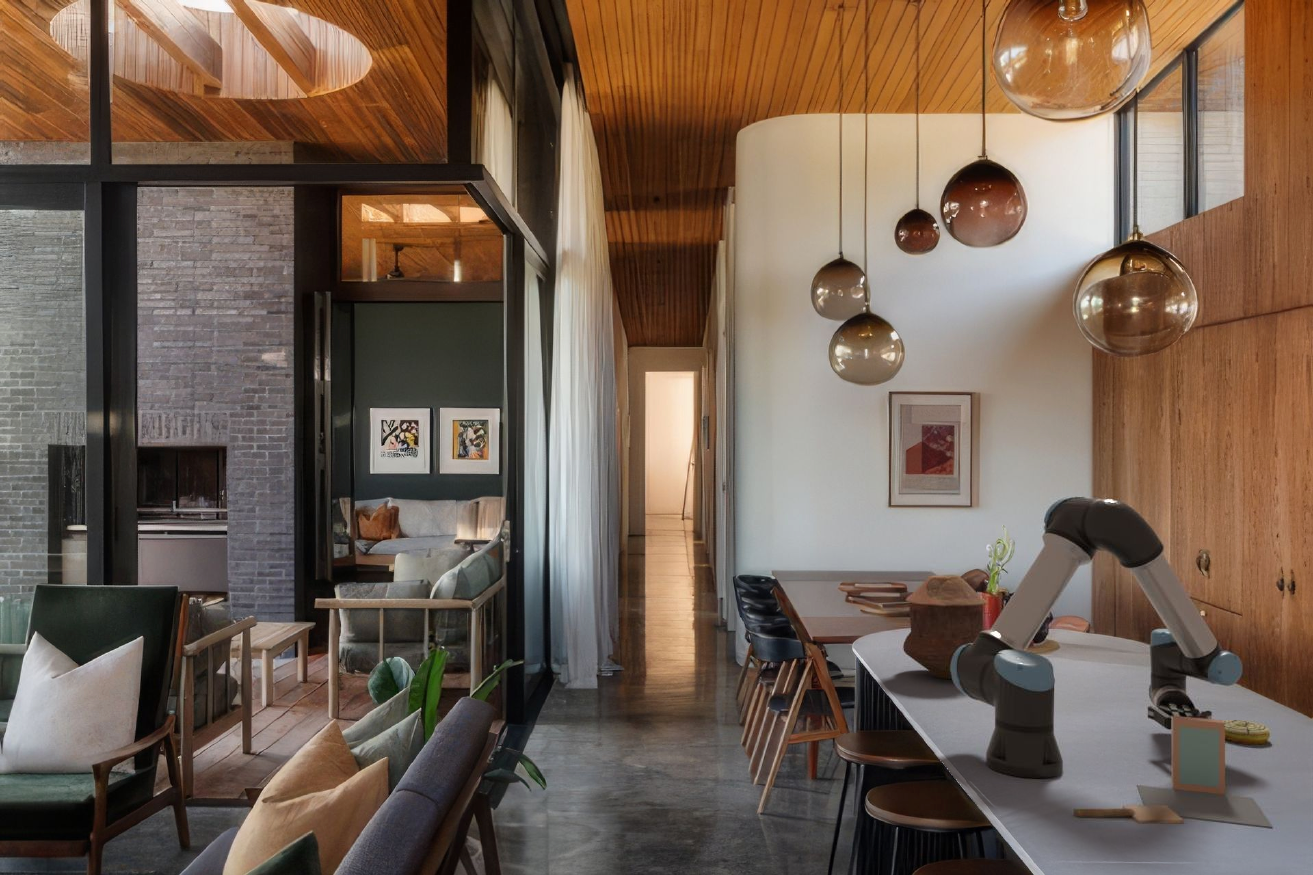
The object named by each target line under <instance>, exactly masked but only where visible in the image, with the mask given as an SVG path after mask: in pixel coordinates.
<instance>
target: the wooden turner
mask: <svg viewBox="0 0 1313 875" xmlns="http://www.w3.org/2000/svg"><path fill="white" fill-rule="evenodd" d="M1073 815H1074V816H1075V817H1076V818H1121V817H1122V818H1123V817H1124V818H1129V817H1130V818H1132V819H1133V820H1134V821H1135V822H1137V823H1139V824H1140V823H1141V824H1142V823H1143V824H1184V818H1182V817H1179V816H1178V815H1177V814H1176V813H1175V812H1173V811H1172V810H1171V809H1170V808H1169V807H1167V806H1144V805H1122V808H1074V809H1073Z"/></svg>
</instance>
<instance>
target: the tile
mask: <svg viewBox="0 0 1313 875" xmlns="http://www.w3.org/2000/svg"><path fill="white" fill-rule="evenodd" d="M1170 730H1171V733H1170V734H1171V737H1170V738H1171V739H1170V740H1171V749H1170V750H1171V751H1170V752H1171V758H1170V759H1171V762H1170V763H1171V788H1172V789H1178V790H1187V791H1196V792H1205V793H1214V794H1223V795H1226V739H1225V722H1224V720H1223V719H1214V718H1212V719H1204V718H1192V717H1181V716H1171V729H1170Z"/></svg>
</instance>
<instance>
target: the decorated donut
mask: <svg viewBox="0 0 1313 875" xmlns="http://www.w3.org/2000/svg"><path fill="white" fill-rule="evenodd" d="M1223 721H1224V722H1225V740H1227V741H1230V740H1231V741H1232V742H1233V743H1239V742H1240V744H1245V743H1246V745H1263V744H1265V743H1266V742H1267V741H1268V740H1269V739H1270V736H1271V734H1270V729H1269V728H1268V727H1267V726H1265V725H1263V724H1261V723H1258V722H1257V723H1256V722H1253V721H1248V720H1239V719H1233V720H1232V719H1231V720H1230V719H1228V720H1227V719H1226V720H1223ZM1231 741H1230V742H1231ZM1262 743H1263V744H1262Z"/></svg>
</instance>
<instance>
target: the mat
mask: <svg viewBox="0 0 1313 875" xmlns="http://www.w3.org/2000/svg"><path fill="white" fill-rule="evenodd" d="M1136 787H1137V790H1138V793H1139V795H1140V799H1141V800H1142V804H1143V806H1167V807H1169V808H1170V809H1171V810H1172V811H1173V812H1175V813H1176V814H1177V815H1178V816H1179V817H1181V818H1182V819H1184V818H1185V819H1193V820H1200V821H1208V822H1216V823H1225V824H1232V825H1233V824H1234V825H1241V826H1242V825H1243V826H1250V827H1256V828H1257V827H1260V828H1267V829H1274V826H1273V825H1272V824H1271V822H1270V820H1269V819H1268V818H1267V817H1266V815H1265V814H1264V812H1263V810H1262V809H1261V807H1260V805H1258V803H1257V802H1256V800H1255V799H1254V797H1248V796H1240V795H1230V794H1225V795H1223V794H1215V793H1206V792H1197V791H1188V790H1179V789H1173V788H1168V787H1161V786H1160V787H1159V786H1149V785H1141V784H1136Z"/></svg>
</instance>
